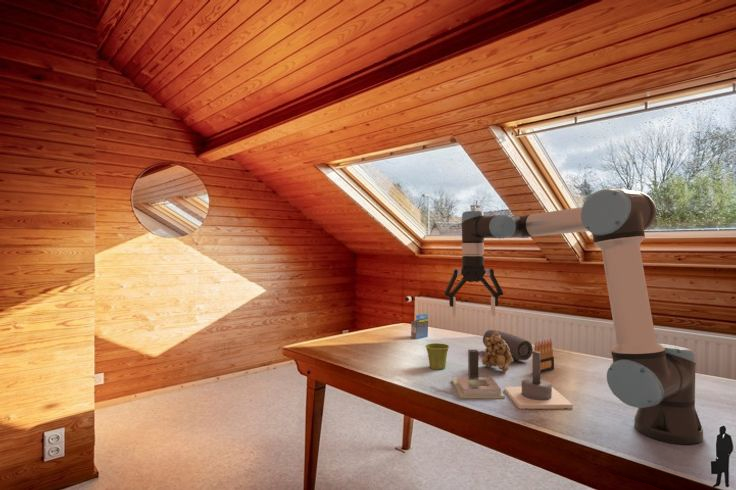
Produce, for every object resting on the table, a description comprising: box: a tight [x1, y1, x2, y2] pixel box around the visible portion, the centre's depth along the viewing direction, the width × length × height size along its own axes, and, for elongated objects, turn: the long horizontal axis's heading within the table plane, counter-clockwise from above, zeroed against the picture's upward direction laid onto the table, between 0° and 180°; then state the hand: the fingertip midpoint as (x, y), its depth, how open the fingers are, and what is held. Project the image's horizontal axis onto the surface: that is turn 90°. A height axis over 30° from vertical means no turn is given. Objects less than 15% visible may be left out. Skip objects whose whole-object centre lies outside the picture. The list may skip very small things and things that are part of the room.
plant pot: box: [425, 342, 450, 371], centre depth 177 cm, size 9×9×9 cm
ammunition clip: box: [533, 338, 555, 374], centre depth 172 cm, size 11×2×12 cm, turn 123°
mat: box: [451, 378, 506, 399], centre depth 152 cm, size 17×14×1 cm
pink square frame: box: [456, 349, 502, 395], centre depth 152 cm, size 15×12×11 cm
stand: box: [503, 350, 574, 410], centre depth 143 cm, size 16×16×15 cm
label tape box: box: [410, 313, 429, 340], centre depth 229 cm, size 9×4×12 cm, turn 130°
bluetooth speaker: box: [482, 329, 534, 361], centre depth 193 cm, size 23×9×10 cm, turn 22°
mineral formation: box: [481, 332, 514, 373], centre depth 174 cm, size 8×13×15 cm, turn 32°
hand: (473, 315), depth 157 cm, fingers open, 13 cm apart
